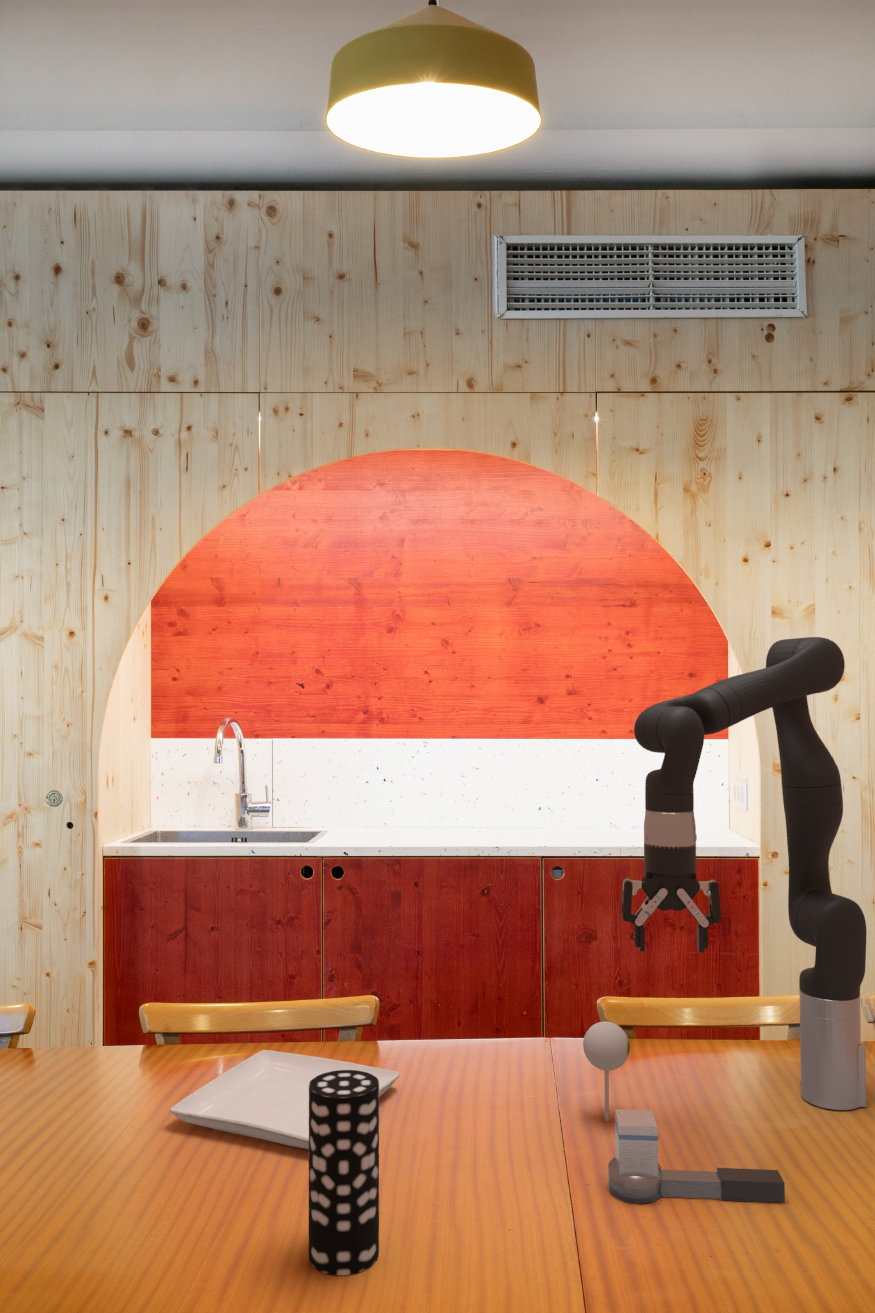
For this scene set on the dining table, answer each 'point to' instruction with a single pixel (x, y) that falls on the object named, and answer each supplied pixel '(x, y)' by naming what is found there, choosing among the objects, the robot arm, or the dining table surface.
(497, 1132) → the dining table surface
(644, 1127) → the silver block
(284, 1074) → the square plate
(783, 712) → the robot arm
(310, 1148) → the spotted tube
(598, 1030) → the lollipop
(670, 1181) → the ratchet
